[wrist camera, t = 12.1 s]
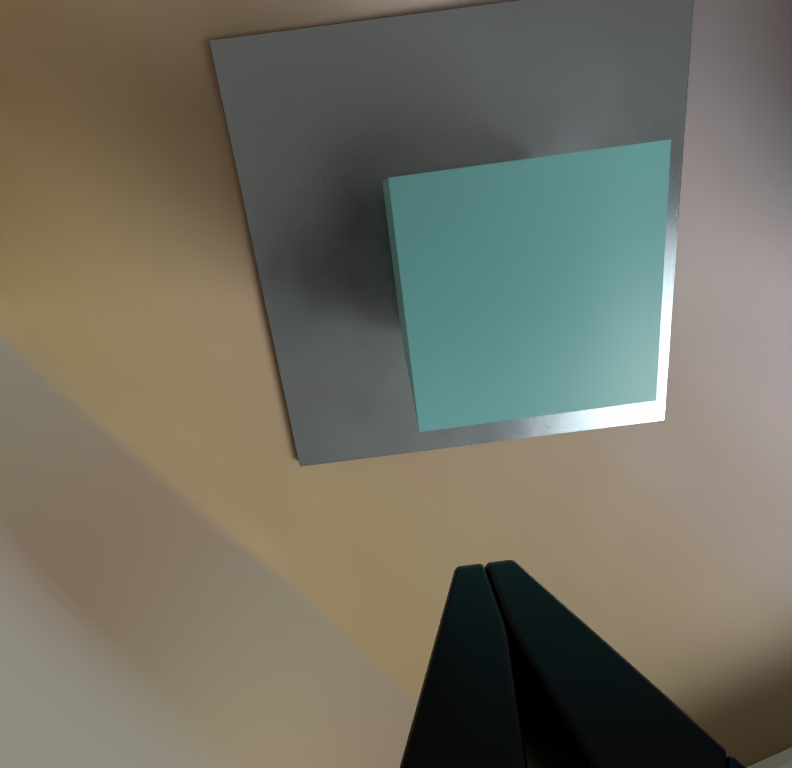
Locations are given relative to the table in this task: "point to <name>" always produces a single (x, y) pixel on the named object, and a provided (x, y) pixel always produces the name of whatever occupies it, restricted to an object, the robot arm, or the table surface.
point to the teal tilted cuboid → (531, 283)
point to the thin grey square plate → (420, 153)
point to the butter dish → (776, 761)
